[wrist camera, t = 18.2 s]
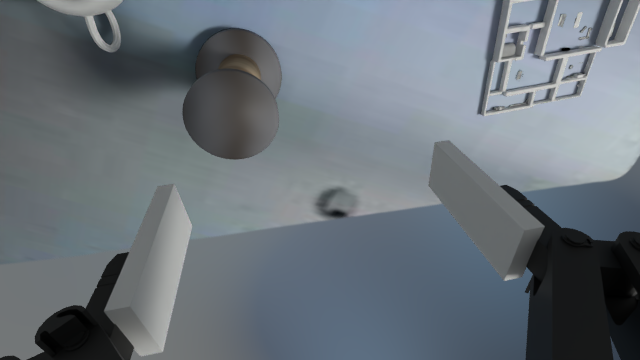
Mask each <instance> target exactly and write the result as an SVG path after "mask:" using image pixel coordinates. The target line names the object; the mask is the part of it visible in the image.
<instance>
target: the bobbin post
mask: <svg viewBox="0 0 640 360" xmlns="http://www.w3.org/2000/svg"><path fill="white" fill-rule="evenodd" d="M195 69H196V78H197V80H196V81H195V82H194V84H193V85H192V86H191V88H190V89H189V91H188V93H187V95H186V97H185V100H184V104H183V120H184V124H185V127H186V130H187V131H188V133H189V135H190V136H191V138H192V139H193V140H194V141H195V143H196V144H197V145H199V146H200V147H201V148H202V149H204V150H205V151H207V152H208V153H210V154H212V155H215V156H217V157H221V158H225V159H244V158H248V157H252V156H254V155H257V154H258V153H260V152H262V151H263V150H264V149H266V148H267V147H268V146H269V145H270V143H271V142H272V141H273V139H274V137H275V135H276V133H277V130H278V126H279V113H278V107H277V103H276V100H275V98H276V97H277V95H278V93H279V90H280V87H281V80H282V73H281V67H280V63H279V59H278V57H277V55H276V53H275V51H274V49H273V48H272V47H271V45H270V44H269V43H268V42H267V41H266V40H265V39H263V38H262V37H261V36H259V35H258V34H256V33H254V32H251V31H249V30H245V29H239V28H232V29H226V30H222V31H220V32H218V33H216V34H214V35H213V36H211V37H210V38H209V39H208V40H207V41H206V42H205V44H204V45H203V46H202V48H201V50H200V51H199V54H198V56H197V60H196V67H195Z"/></svg>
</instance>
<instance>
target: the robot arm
mask: <svg viewBox="0 0 640 360" xmlns="http://www.w3.org/2000/svg"><path fill="white" fill-rule="evenodd" d="M428 186H429V187H430V188H431V189H432V191H433V192H434V193H435V194H436V196H437V197H438V198H439V199H440V201H441V202H442V203H443V204H444V206H445V207H446V208H447V209H448V211H449V212H450V213H451V215H452V216H453V217H454V218H455V220H456V221H457V222H458V223H459V224H460V226H461V227H462V228H463V230H464V231H465V232H466V233H467V235H468V236H469V237H470V238H471V239H472V241H473V242H474V244H475V245H476V246H477V247H478V248H479V250H480V251H481V252H482V254H483V255H484V256H485V257H486V259H487V260H488V261H489V262H490V264H491V265H492V266H493V267H494V269H495V270H496V271H497V273H498V274H499V275H500V276H501V277H502V279H503V280H504V281H506V280H510V279H515V278H520V277H522V276H523V274H524V271H525V269H526V267H527V268H528V269H529V270H530V271H531V272H532V273H533V276H532V278H531V280H530V282H529V284H528V286H527V288H526V291H525V292H526V293H528V292H529V290H530V298H529V299H530V300H529V314H528V315H529V316H528V330H527V347H526V360H613V354H612V346H611V339H610V336H611V338H612V341H613V343H614V345H615V348H616V350H617V352H618V354H619V357H620V359H621V360H640V233H638V232H623V233H620V234H619V236H618V238H617V239H616V241H601V240H593V239H591V238H590V237H589V236H588V235H586V234H584V233H583V232H580V231H578V230H575V229H570V228H561V227H560V226H559V225H558V224H557V223H555V222H554V221H553V220H552V219H551V218H550V217H548V216H547V215H546V214H545V213H544V212H542V211H541V210H540V209H539V208H538V207H537V206H534V204H533V203H532V202H531V201H529V200H527V198H526V197H525V196H524V195H522V194H521V193H520V192H519V191H518V190H516V189H514V188H512V187H509V186H507V185H502V186H499V185H498V184H497V183H496V182H495V181H494V180H492V179H491V178H490V177H489V176H488V175H487V174H486V173H485V172H483V171H482V170H481V169H480V168H479V167H478V166H477V165H476V164H475V163H473V162H472V161H471V160H470V159H469V158H468V157H467V156H466V155H465V154H463V153H462V152H461V151H460V150H459V149H458V148H457V147H456V146H455V145H453V144H452V143H451V142H450V141H449V140H448V141H441V142H435V145H434V151H433V158H432V165H431V172H430V178H429V185H428ZM191 229H192V224H191V222H190V220H189V217H188V215H187V213H186V210H185V208H184V206H183V203H182V201H181V198H180V196H179V194H178V191H177V189H176V187H175V184H170V185H164V186H158V187H157V189H156V192H155V194H154V196H153V199H152V201H151V203H150V206H149V208H148V210H147V212H146V215H145V217H144V219H143V222H142V224H141V226H140V229H139V231H138V233H137V236H136V238H135V240H134V243H133V245H132V247H131V250H130V252H127V253H121V254H117V255H116V256H115V257H114V258H113V259H112V260H111V261H110V262H109V264H108V265H107V266H106V268H105V270H104V272H103V274H102V276H101V277H102V278H101V279H100V281H99V282H98V285H97V288H96V289H95V291H94V293H93V295H92V297H91V299H90V301H89V303H88V305H87V307H86V309H85V308H84V307H82V306H76V305H73V306H70V307H66V308H64V309H62V310H60V311H58V312H56V313H54V314H53V315H52V316H50V317H49V318H48V319H47V320H46V321H45V322H44V323H43V324H42V325H41V326H40V327H39V329H38V331H37V333H36V335H35V343H36V344H37V345H38V346H39V347H40V348H41V349H43V350H44V351H45V352H43V353H40V354H38V355H36V356H34V357H32V358H30V359H27V360H130V358H131V355H132V352H133V349H135V350H136V352H137V353H138V354H139V355H140V356H145V355H150V354H155V353H160V352H163V348H164V344H165V340H166V336H167V332H168V327H169V323H170V319H171V314H172V310H173V306H174V302H175V297H176V293H177V289H178V285H179V280H180V276H181V272H182V267H183V263H184V259H185V254H186V251H187V246H188V242H189V238H190V233H191ZM0 360H20V359H19V358H17V357H15V356H5V357H2V358H0Z"/></svg>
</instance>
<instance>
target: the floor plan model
mask: <svg viewBox="0 0 640 360" xmlns="http://www.w3.org/2000/svg"><path fill="white" fill-rule="evenodd" d="M525 1H531V0H503V5H502V10H501V16H500V21H499V26H498V32H497V37H496V42H495V48H494V53H493V58H492V60H491V62H490V67H489V72H488V78H487V83H486V89H485V94H484V100H483V105H482V110H481V115H482V116H488V115H493V114H498V113H504V112H510V111H515V110H521V109H526V108H532V107H533V105H536V104H542V103H547V102H553V101H558V100H563V99H569V98H574V97H580V96H581V94H582V91H583V88H584V85H585V83H586V80H587V77H588V74H589V71H590V69H591V66H592V63H593V60H594V58H595V55H596V52H599V51H601V50H602V48H601V47H604V48H607V47H613V46H618V45H624V44H625V42H626V40H627V38H628V35H629V33H630V30H631V28H632V25H633V23H634V20H635V18H636V15H637V13H638V11H639V8H640V0H629V2H628V4H627V7H626V10H625V12H624V15H623V17H622V20H621V22H620V25H619V28H618V30H617V33H616V35H615V38H614V40H611V41H608V39H609V37H611V36H612V33H613V30H614V27H615V21H616V18H617V15H618V13H619V10H620V7H621V5H622V2H623V0H610V2H609V5H608V8H607V11H606V14H605V16H604V19H603V22H602V25H601V28H600V30H599V33H598V36H597V39H596V42H595V43H596V46H590V47H585V48H582V47H583V46H581V47H579V49H573V50H570V48H563V49H562V52H556V53H551V54H545V55H544V52H545V48H546V45H547V41H548V37H549V34H550V30H551V27H552V23H553V19H554V16H555V12H556V8H557V5H558V1H559V0H549V1H548V5H547V9H546V12H545V16H544V19H543V22H537V23H531V24H529V25H525V24H522V25H515V26H509V27H508V23H509V18H510V13H511V8H512V4H513V3H519V2H525ZM582 13H583V12H580V13H578V15H577V18H576V20H575V25H574V28H577V27H578V26H579V22H580V19H581V16H582ZM565 18H566V14H561V16H560V20H559V23H558V26H560V27H563V24H564V21H565ZM537 28H541V30H540V34H539V37H538V41H537V44H536V48H535V52H534V54H536V55H539V59H541V60H544V61H549V60H554V59H559V60H558V63H557V67H556V70H555V73H554V76H553V80H552V82H551V83H546V84H540V85H535V86H529V87H524V88H518V89H513V90H507V91H506V87H507V82H508V78H509V73H510V69H511V64H512V60H515V61H516V60H522V59H523V57H524V52H525V48H526V45H523V42H525V41H527V40H528V36H529V32H530V29H537ZM586 28H587V27H584V29H583V30H581V31H580V32H581V33H582V32H583V31H584V30H585V29H586ZM590 30H592V28H589V31H588V33H587V36H586V37H580V38H579V40H582V39H585V38H586V39H588V38H589V34H590ZM515 32H519V36H518V40H517V45H516V47H515V44H514V43H509V44H504V43H505V38H506V37H507V34H509V33H515ZM597 46H600V47H597ZM514 53H515V54H514ZM588 53H590V56H589V59H588V61H587V64H586V67H585V70H584V73H577V74H574V75H573V76H570V77H569V76H567V77H566V78H565V79H563V80H561V79H562V76H563V73H564V70H565V67H566V64H567V61H568V57H571V56H577V55H582V54H588ZM495 62H497V63H499V62H505V64H504V69H503V74H502V78H501V83H500V88H499V90H496V91H491V92H490V88H491V83H492V78H493V73H494V67H495ZM581 63H583V62H581ZM572 67H573V65H570V68H569V69H572ZM523 72H524V71H523ZM521 74H522V71H518V76H517V75H516V77H517V79H516V80H518V79H520V78H521ZM516 77H515V78H516ZM575 81H579V82H580V83H579V85H578V84H577V86H578V90H577V92H576V94H574V95H568V96H563V97H558V98H555V97H556V94H557V91H558V88H559V85H560V84H564V83H569V82H575ZM549 88H551V91H550V94H549V98H548V99H547V100H541V101H536V102H533V101H534V97H535V94H536V91H538V90H543V89H549ZM503 91H504V92H503ZM502 92H503V95H504V96H506V97H507V96H512V95H518V94H523V93H528V92H530V93H529V97H528V99H526V102H525V103H520V104H514V105H509V107H508V108H505V107H504V106H503V107H501V106H498V107H493V110H491V111H486V108H487V103H488V98H489V96H492V95H498V94H502Z"/></svg>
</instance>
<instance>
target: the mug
mask: <svg viewBox="0 0 640 360" xmlns="http://www.w3.org/2000/svg"><path fill="white" fill-rule="evenodd" d="M37 1H38V2H40V3H42V4H43V5H45V6H47V7H48V8H51V9H53V10H55V11H57V12H60V13H64V14H68V15H73V16H83V17H84V18H85V21H86V23H87V26H88V29H89V32H90V34H91V36H92V38H93V40H94V41H95V43H96V44H97V45H98V46H99V47H100V48H101V49H103V50H104V51H107V52H115V51H117V50H118V49H119V47H120V45H121V34H120V30H119V26H118V23H117V21H116V18H115V16H114V14H113V13H112V11H111V10H112V9H114V8H115V7H117V6H118V5H119V4H120V3H121V2H122V1H123V0H37ZM103 13H105V14H106V16H107V17H108V20H109V22H110V24H111V27H112V31H113V42H112V44H111V45H108V44H107V43H105V42H104V40H103V39H102V38H101V36H100V34H99V32H98V30H97V27H96V24H95V21H94V18H93V16H94V15H99V14H103Z"/></svg>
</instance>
